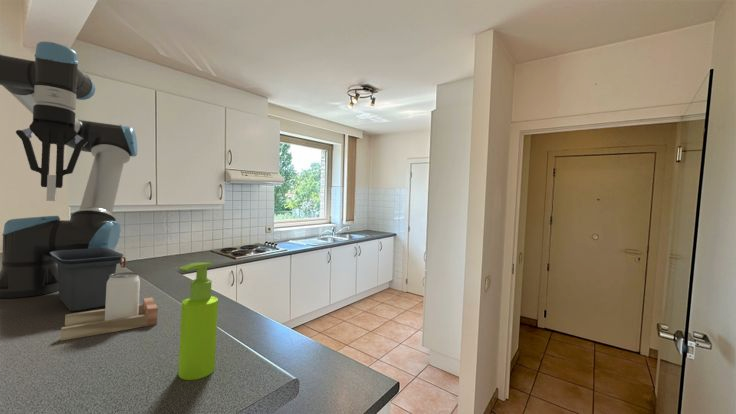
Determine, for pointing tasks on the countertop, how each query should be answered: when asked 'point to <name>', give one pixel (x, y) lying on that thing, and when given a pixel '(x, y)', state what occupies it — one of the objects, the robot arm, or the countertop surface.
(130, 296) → the can
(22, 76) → the robot arm
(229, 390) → the countertop surface
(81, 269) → the storage bin
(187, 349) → the soap dispenser
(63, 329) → the guide lane
